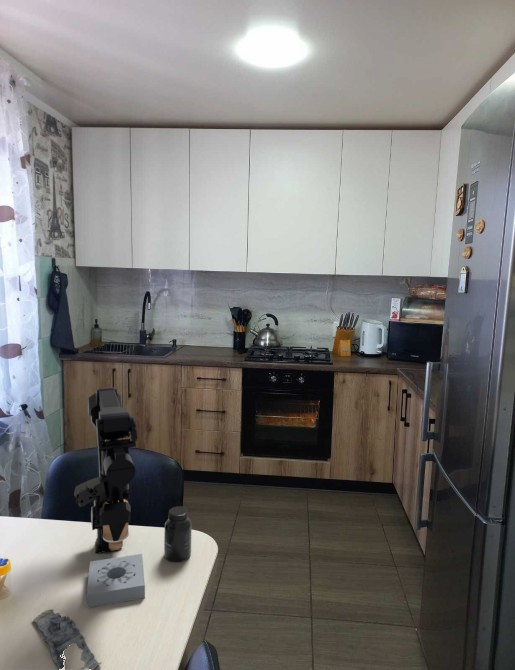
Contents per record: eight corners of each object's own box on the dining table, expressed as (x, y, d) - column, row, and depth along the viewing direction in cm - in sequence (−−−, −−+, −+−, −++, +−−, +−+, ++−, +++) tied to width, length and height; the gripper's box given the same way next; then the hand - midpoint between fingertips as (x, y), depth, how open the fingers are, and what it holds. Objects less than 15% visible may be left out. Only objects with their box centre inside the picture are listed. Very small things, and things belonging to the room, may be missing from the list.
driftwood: (30, 620, 93) (30, 611, 92) (64, 606, 97) (64, 597, 97) (63, 692, 77) (62, 681, 77) (101, 671, 81) (101, 660, 81)
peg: (103, 541, 104) (102, 500, 103) (128, 537, 106) (128, 497, 105) (102, 555, 99) (102, 512, 98) (128, 551, 101) (128, 508, 99)
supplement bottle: (159, 560, 113) (159, 515, 112) (171, 545, 120) (171, 502, 118) (185, 565, 111) (185, 519, 110) (195, 549, 118) (195, 506, 117)
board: (90, 573, 107) (90, 561, 107) (142, 565, 111) (142, 553, 111) (87, 607, 96) (86, 594, 96) (144, 597, 99) (144, 585, 99)
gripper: (79, 455, 107) (81, 517, 109) (72, 490, 89) (73, 563, 91) (128, 451, 110) (129, 511, 112) (130, 484, 92) (131, 555, 94)
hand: (115, 533), depth 102 cm, fingers closed on peg, 5 cm apart
